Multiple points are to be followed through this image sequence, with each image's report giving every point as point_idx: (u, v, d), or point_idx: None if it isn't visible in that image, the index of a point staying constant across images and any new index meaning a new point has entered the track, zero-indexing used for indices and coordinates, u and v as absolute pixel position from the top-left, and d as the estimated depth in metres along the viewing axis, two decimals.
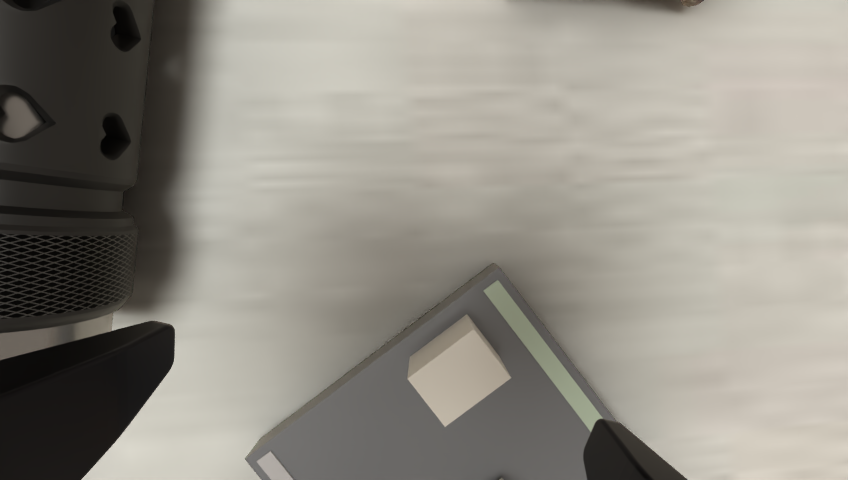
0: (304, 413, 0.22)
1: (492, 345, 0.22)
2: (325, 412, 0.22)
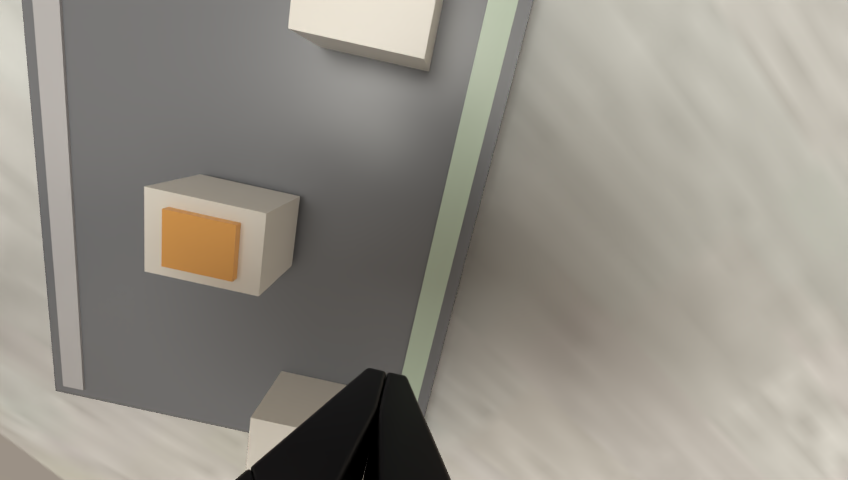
0: None
1: (435, 49, 0.14)
2: None
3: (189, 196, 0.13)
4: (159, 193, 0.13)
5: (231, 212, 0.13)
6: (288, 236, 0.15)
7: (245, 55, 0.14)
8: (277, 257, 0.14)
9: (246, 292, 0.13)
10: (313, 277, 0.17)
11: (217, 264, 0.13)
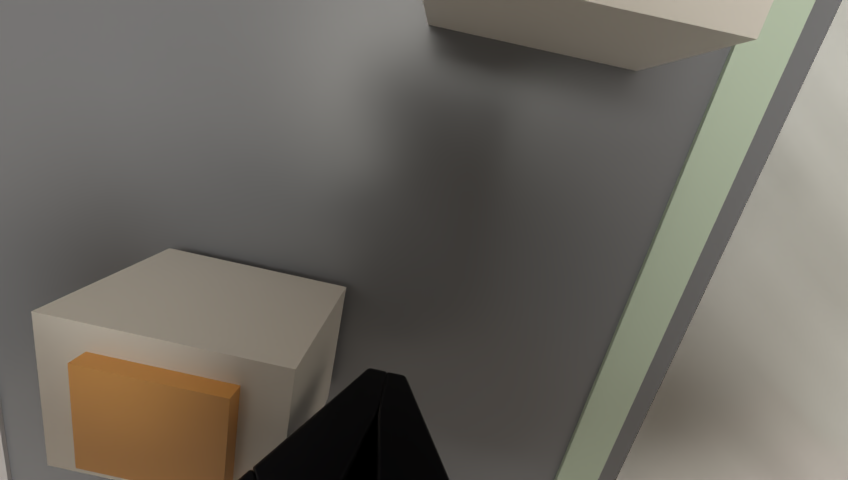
0: None
1: None
2: None
3: (129, 332, 0.06)
4: (65, 325, 0.06)
5: (219, 364, 0.06)
6: (327, 363, 0.08)
7: (282, 41, 0.08)
8: (309, 414, 0.08)
9: None
10: None
11: (191, 469, 0.06)
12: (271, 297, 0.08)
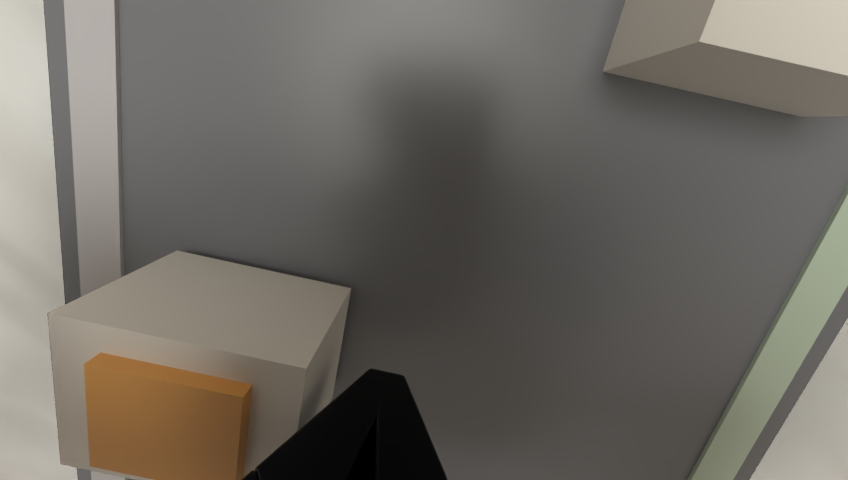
0: None
1: None
2: None
3: (143, 333, 0.06)
4: (81, 326, 0.06)
5: (232, 364, 0.06)
6: (332, 363, 0.09)
7: (456, 85, 0.08)
8: (316, 412, 0.08)
9: None
10: (517, 442, 0.10)
11: (204, 466, 0.06)
12: (279, 298, 0.08)
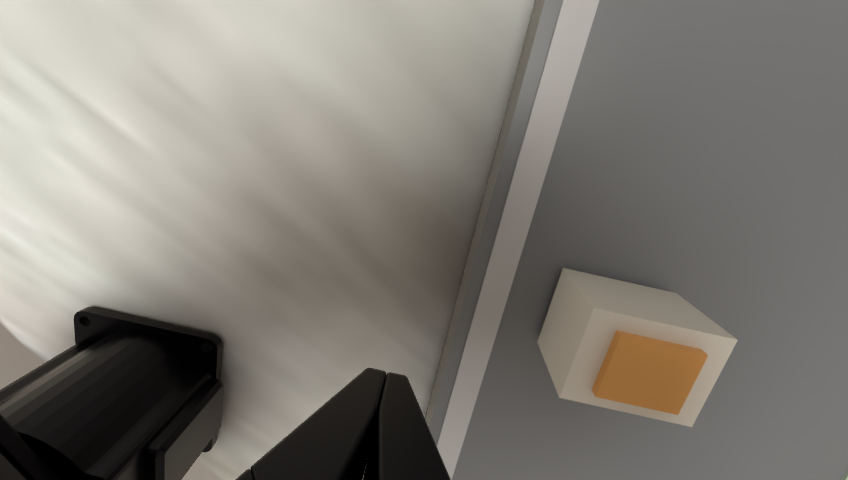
0: None
1: None
2: None
3: (646, 319, 0.11)
4: (609, 315, 0.11)
5: (694, 337, 0.11)
6: None
7: (771, 166, 0.12)
8: None
9: (678, 422, 0.11)
10: (761, 399, 0.15)
11: (667, 396, 0.11)
12: (659, 299, 0.12)
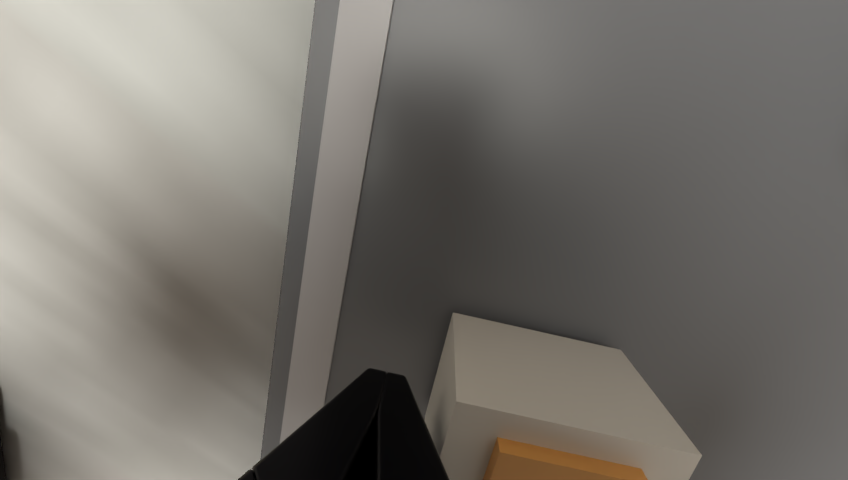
0: None
1: None
2: None
3: (546, 421, 0.06)
4: (483, 413, 0.06)
5: (628, 449, 0.06)
6: None
7: (706, 149, 0.08)
8: None
9: None
10: None
11: None
12: (588, 368, 0.08)
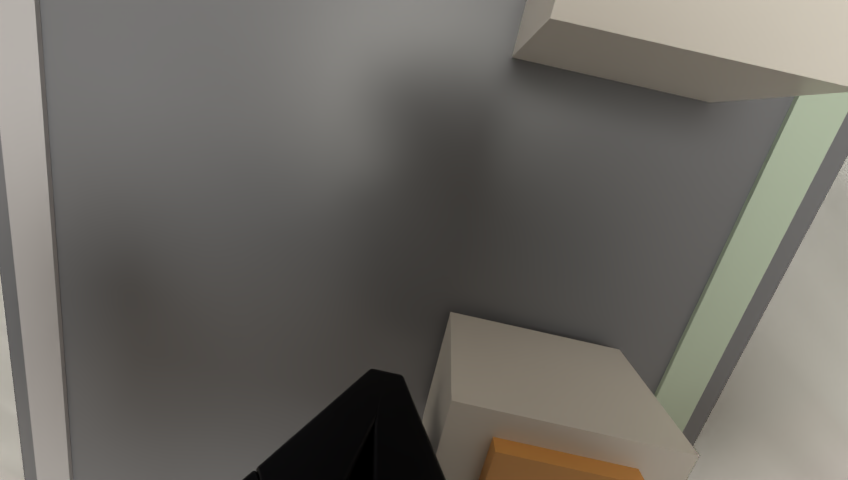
0: None
1: None
2: None
3: (542, 420, 0.06)
4: (479, 412, 0.06)
5: (624, 449, 0.06)
6: None
7: (370, 71, 0.08)
8: None
9: None
10: None
11: None
12: (585, 367, 0.08)
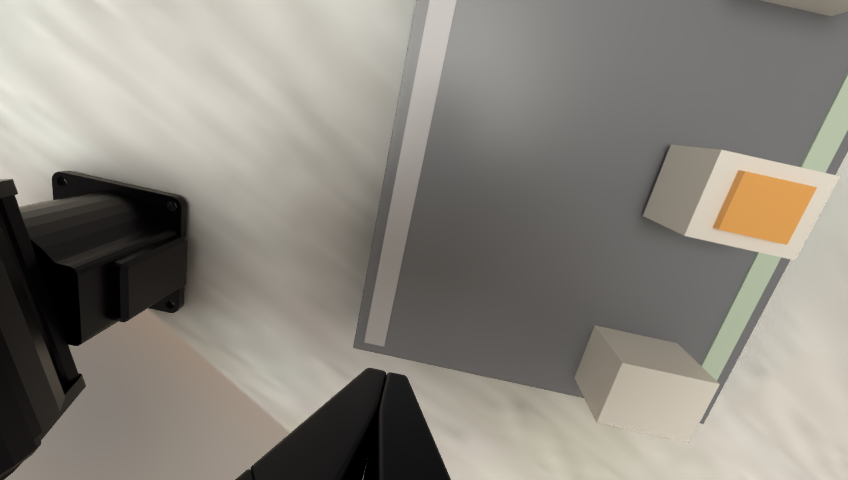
0: None
1: None
2: None
3: (764, 159, 0.13)
4: (733, 156, 0.13)
5: (803, 174, 0.13)
6: None
7: (644, 1, 0.14)
8: None
9: (784, 256, 0.14)
10: (654, 228, 0.17)
11: (779, 227, 0.13)
12: None
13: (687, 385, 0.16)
